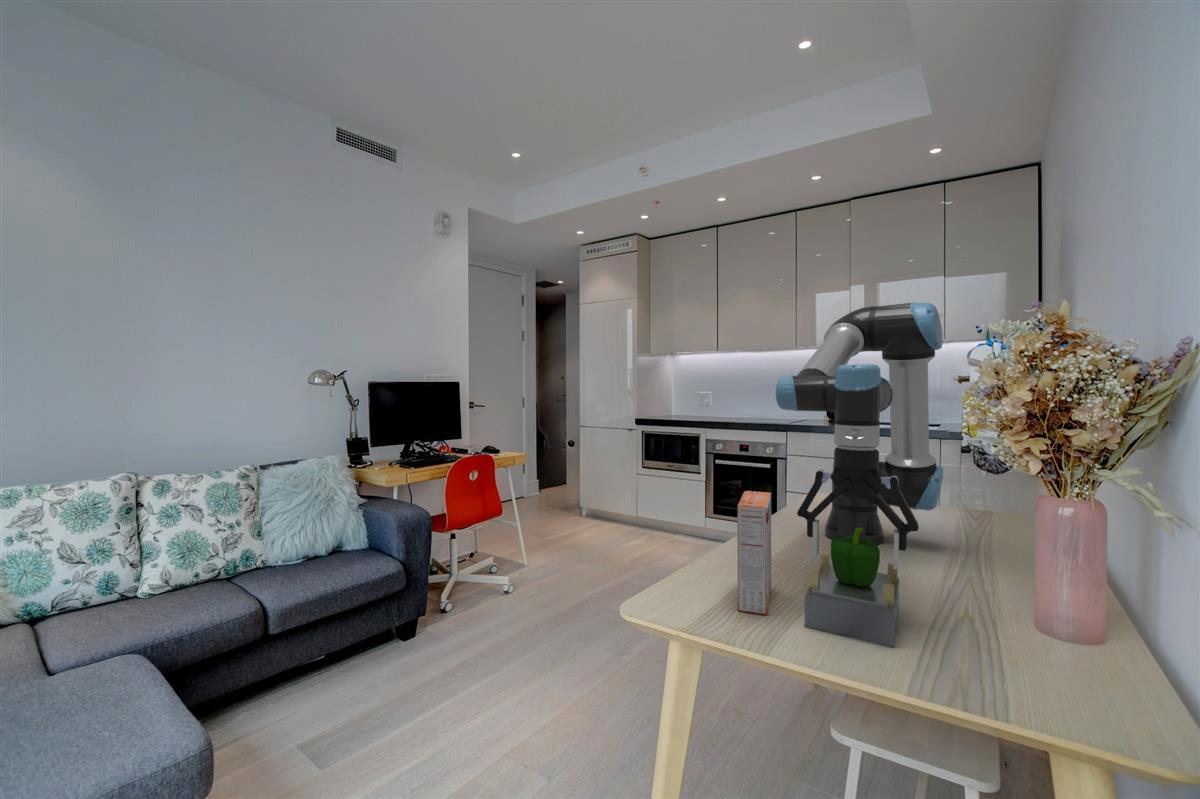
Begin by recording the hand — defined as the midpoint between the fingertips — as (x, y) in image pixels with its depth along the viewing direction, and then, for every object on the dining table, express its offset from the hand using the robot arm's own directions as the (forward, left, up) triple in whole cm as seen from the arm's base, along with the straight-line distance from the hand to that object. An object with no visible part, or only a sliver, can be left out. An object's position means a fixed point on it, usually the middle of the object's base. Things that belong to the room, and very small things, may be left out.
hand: (854, 560), depth 98 cm
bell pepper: (0, 0, -4) cm, 4 cm away
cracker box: (+2, -18, -11) cm, 21 cm away
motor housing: (-2, 0, -11) cm, 11 cm away
